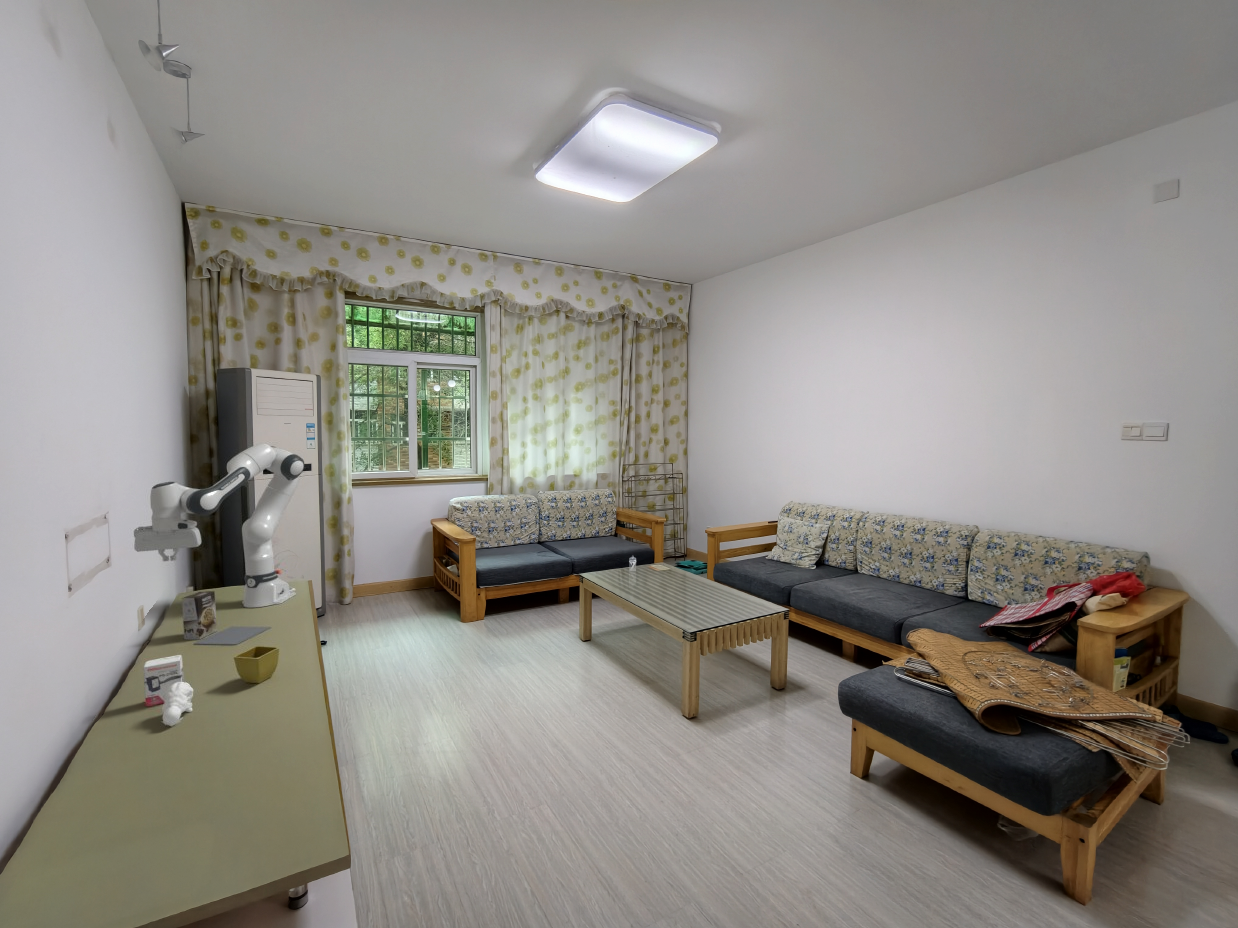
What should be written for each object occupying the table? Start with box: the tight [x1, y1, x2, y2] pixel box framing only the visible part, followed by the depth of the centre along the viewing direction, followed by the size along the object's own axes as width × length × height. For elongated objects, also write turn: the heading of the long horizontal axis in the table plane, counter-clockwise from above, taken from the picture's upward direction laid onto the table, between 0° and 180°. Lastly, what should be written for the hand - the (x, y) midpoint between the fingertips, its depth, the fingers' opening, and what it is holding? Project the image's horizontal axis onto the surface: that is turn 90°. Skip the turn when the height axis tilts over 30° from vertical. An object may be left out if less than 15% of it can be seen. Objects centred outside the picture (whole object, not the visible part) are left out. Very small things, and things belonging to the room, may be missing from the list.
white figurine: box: [160, 681, 194, 727], centre depth 153 cm, size 6×8×12 cm
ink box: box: [142, 654, 184, 707], centre depth 164 cm, size 8×5×12 cm, turn 123°
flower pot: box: [233, 645, 280, 684], centre depth 176 cm, size 9×9×9 cm
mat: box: [193, 625, 272, 646], centre depth 216 cm, size 18×17×1 cm
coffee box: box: [181, 590, 218, 641], centre depth 217 cm, size 9×6×16 cm
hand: (169, 560), depth 216 cm, fingers closed
